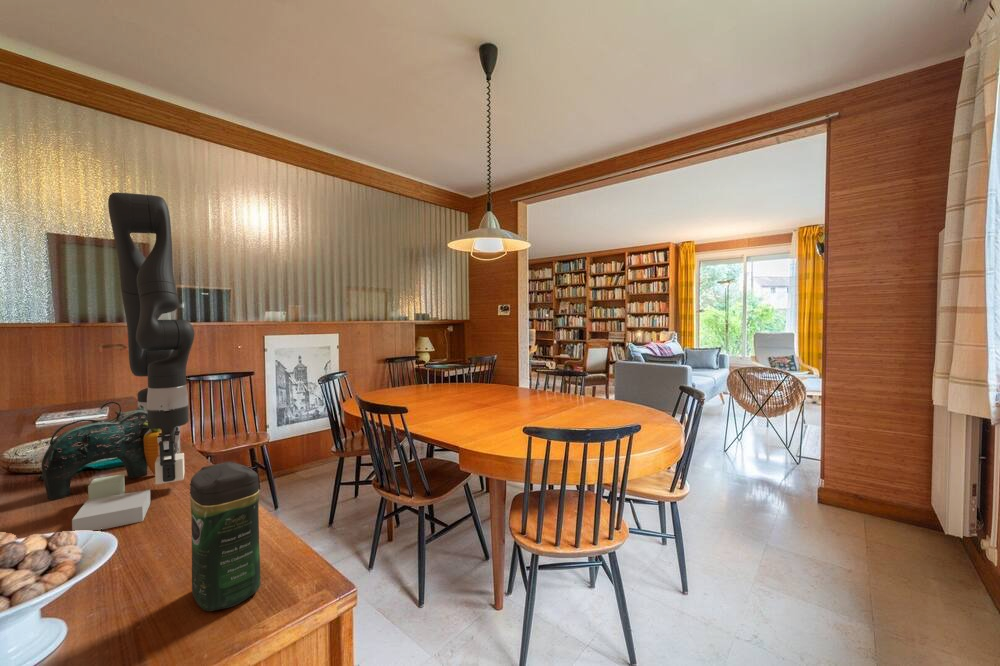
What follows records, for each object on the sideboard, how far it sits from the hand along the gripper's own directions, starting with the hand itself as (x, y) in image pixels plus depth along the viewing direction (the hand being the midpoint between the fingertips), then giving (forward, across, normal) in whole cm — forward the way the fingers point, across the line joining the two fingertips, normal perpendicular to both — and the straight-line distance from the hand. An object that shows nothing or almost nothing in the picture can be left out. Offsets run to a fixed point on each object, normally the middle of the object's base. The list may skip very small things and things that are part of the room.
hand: (170, 476), depth 98 cm
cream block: (+1, 0, 0) cm, 1 cm away
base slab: (+3, +12, -8) cm, 14 cm away
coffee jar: (+2, +52, +10) cm, 53 cm away
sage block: (+3, 0, -11) cm, 11 cm away
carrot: (+4, -14, -4) cm, 14 cm away
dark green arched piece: (+4, -13, -14) cm, 19 cm away
